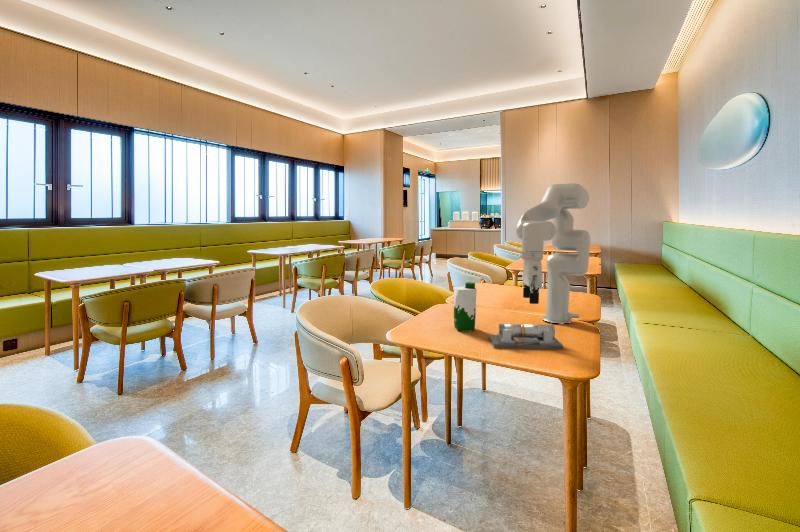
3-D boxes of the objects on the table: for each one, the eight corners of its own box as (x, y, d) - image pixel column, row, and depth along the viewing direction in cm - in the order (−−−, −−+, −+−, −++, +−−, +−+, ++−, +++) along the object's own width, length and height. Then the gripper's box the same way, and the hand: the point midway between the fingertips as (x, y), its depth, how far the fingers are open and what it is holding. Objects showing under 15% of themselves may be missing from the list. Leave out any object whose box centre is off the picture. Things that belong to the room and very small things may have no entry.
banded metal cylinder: (550, 336, 157) (551, 323, 156) (554, 339, 152) (555, 326, 151) (503, 335, 158) (503, 322, 157) (505, 338, 153) (506, 325, 152)
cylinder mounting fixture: (552, 339, 160) (553, 323, 160) (563, 349, 148) (564, 332, 148) (488, 338, 162) (489, 322, 161) (493, 348, 150) (494, 331, 149)
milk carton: (477, 331, 171) (478, 284, 169) (456, 332, 171) (457, 285, 168) (471, 326, 180) (473, 281, 178) (451, 326, 179) (452, 281, 177)
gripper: (549, 258, 142) (547, 306, 145) (536, 252, 159) (534, 295, 162) (527, 258, 143) (526, 306, 145) (516, 253, 160) (515, 295, 162)
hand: (530, 300), depth 153 cm, fingers open, 9 cm apart
